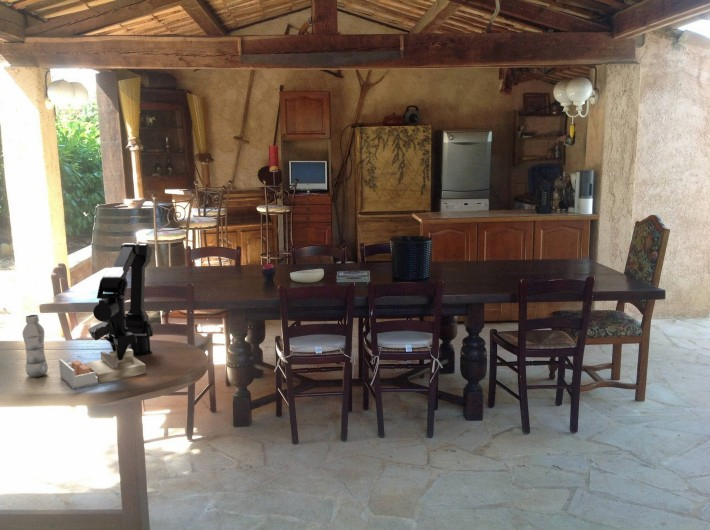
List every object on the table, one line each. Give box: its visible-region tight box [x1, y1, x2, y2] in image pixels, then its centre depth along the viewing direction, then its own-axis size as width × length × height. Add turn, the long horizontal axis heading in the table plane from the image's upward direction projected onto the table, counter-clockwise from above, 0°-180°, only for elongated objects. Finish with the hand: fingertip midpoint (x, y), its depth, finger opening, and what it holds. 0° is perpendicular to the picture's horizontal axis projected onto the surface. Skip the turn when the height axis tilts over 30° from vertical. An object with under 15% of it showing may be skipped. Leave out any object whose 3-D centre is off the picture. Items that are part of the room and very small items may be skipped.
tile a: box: [71, 359, 84, 376], centre depth 206 cm, size 4×4×2 cm
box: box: [58, 358, 99, 390], centre depth 203 cm, size 7×14×6 cm, turn 40°
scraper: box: [100, 348, 134, 368], centre depth 211 cm, size 8×12×4 cm
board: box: [83, 356, 147, 385], centre depth 211 cm, size 15×14×3 cm
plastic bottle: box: [22, 314, 49, 378], centre depth 206 cm, size 6×7×20 cm
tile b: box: [79, 364, 90, 375], centre depth 202 cm, size 4×4×2 cm
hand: (118, 358), depth 211 cm, fingers closed on scraper, 2 cm apart
